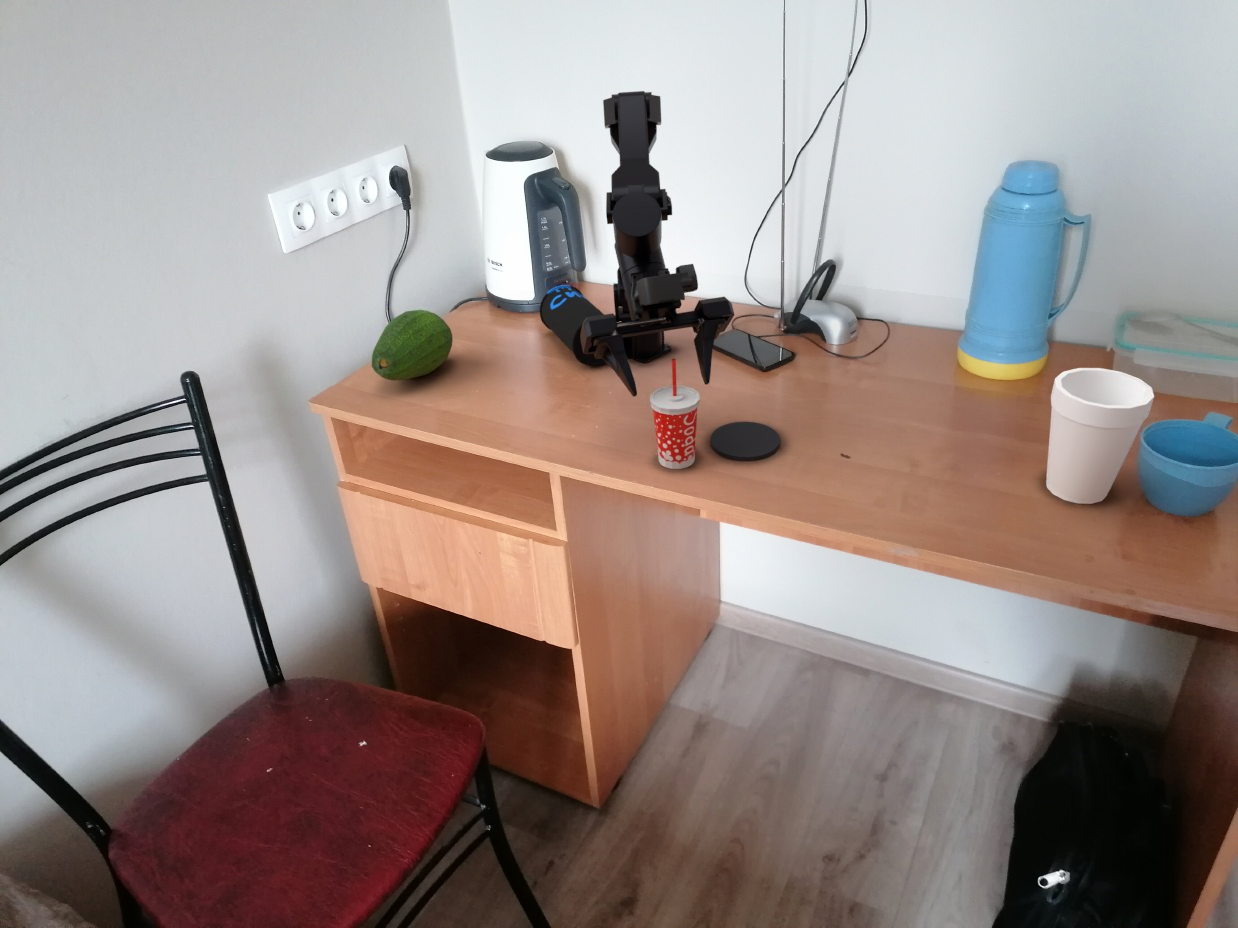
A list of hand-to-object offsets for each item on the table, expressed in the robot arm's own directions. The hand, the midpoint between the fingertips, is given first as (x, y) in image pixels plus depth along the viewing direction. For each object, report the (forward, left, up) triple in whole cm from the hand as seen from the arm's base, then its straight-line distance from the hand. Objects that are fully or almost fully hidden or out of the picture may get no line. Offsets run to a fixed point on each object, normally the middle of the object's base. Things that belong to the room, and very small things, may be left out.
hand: (671, 389), depth 104 cm
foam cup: (-25, +40, -10) cm, 48 cm away
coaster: (-8, +5, -9) cm, 13 cm away
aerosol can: (-12, -27, -5) cm, 29 cm away
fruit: (+9, -47, -10) cm, 49 cm away
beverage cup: (0, +1, -10) cm, 10 cm away
